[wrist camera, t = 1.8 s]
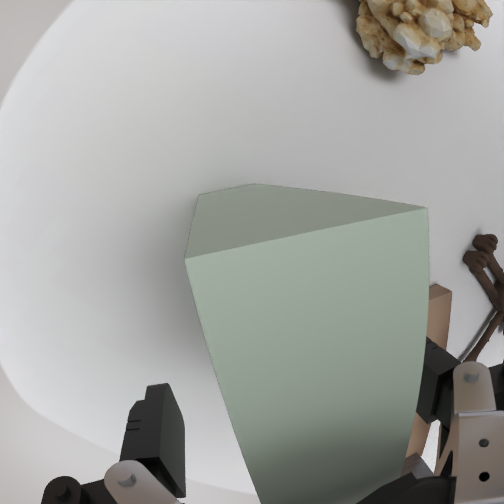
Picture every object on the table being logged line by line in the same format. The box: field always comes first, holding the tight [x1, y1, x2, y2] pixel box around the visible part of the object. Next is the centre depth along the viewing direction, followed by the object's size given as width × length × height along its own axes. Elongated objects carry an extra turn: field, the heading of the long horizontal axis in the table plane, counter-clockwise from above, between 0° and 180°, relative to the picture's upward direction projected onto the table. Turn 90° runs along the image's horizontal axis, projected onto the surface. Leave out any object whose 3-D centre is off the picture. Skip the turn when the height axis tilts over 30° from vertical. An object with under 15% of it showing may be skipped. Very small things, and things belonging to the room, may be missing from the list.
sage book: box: [184, 184, 429, 504], centre depth 13 cm, size 4×13×16 cm, turn 11°
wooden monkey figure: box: [462, 234, 504, 363], centre depth 24 cm, size 18×4×14 cm
